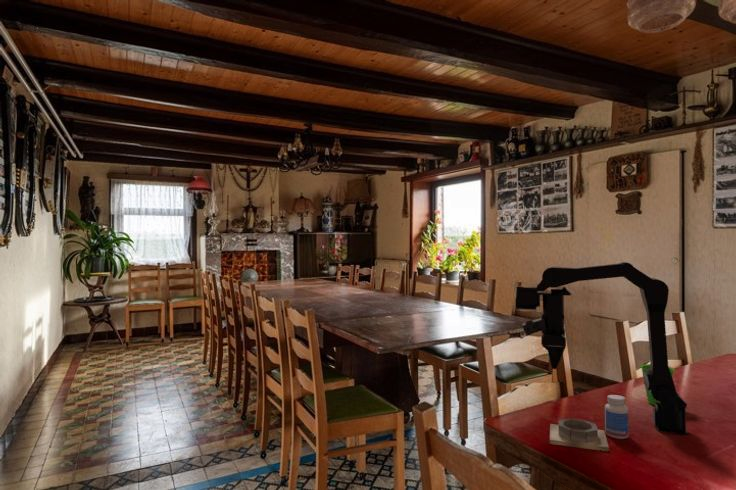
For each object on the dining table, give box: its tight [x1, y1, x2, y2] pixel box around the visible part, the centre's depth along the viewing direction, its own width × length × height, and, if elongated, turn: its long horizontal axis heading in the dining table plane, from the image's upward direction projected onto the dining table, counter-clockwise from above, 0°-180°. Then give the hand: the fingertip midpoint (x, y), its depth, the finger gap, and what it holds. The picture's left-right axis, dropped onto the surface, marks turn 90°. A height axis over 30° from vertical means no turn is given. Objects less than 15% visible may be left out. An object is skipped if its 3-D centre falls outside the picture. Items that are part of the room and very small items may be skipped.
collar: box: [549, 417, 610, 452], centre depth 118 cm, size 13×11×4 cm
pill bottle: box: [604, 394, 630, 440], centre depth 120 cm, size 6×5×10 cm
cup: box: [640, 363, 676, 406], centre depth 143 cm, size 9×9×11 cm
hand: (554, 365), depth 134 cm, fingers open, 9 cm apart
